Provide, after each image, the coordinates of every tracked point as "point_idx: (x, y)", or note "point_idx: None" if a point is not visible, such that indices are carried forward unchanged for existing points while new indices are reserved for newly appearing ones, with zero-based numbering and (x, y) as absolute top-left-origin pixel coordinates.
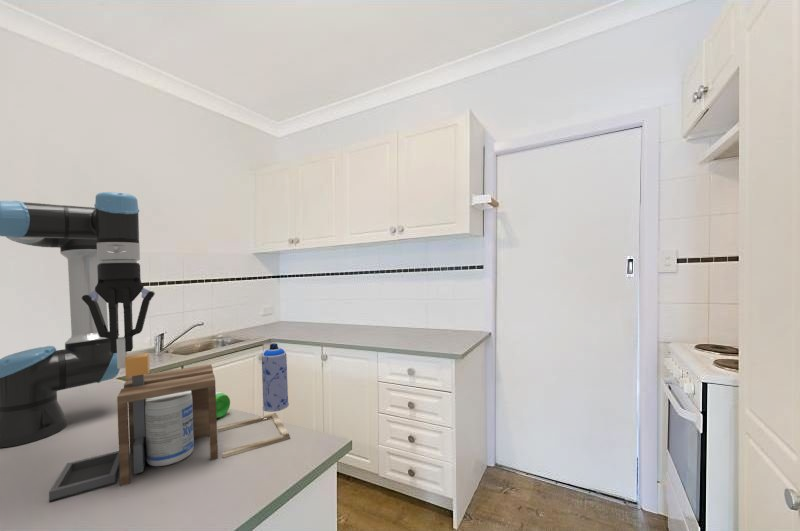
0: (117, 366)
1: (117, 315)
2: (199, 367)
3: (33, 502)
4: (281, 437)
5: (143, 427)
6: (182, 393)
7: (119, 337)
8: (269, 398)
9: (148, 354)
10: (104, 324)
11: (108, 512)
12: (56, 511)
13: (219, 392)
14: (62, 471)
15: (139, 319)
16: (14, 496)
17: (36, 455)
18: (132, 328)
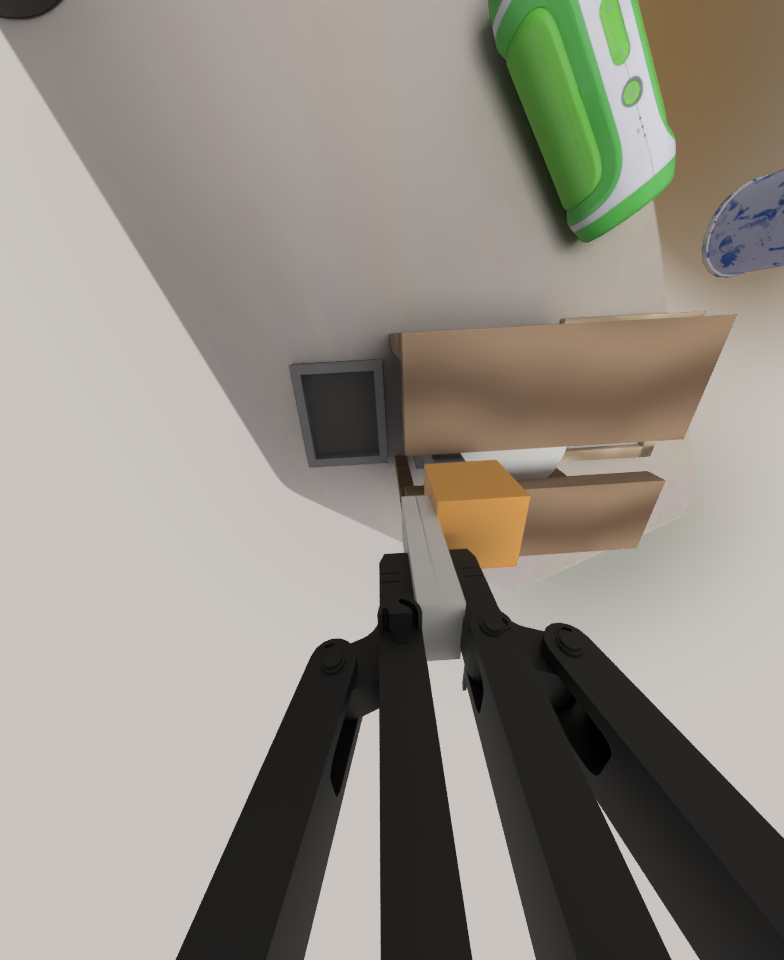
0: (403, 545)
1: (462, 932)
2: (672, 353)
3: (288, 448)
4: (635, 455)
5: None
6: (543, 454)
7: (423, 610)
8: (752, 256)
9: (524, 518)
10: (330, 786)
11: (394, 520)
12: (332, 488)
13: (665, 156)
14: (296, 401)
15: (632, 827)
16: (246, 412)
17: (161, 193)
18: (530, 674)
